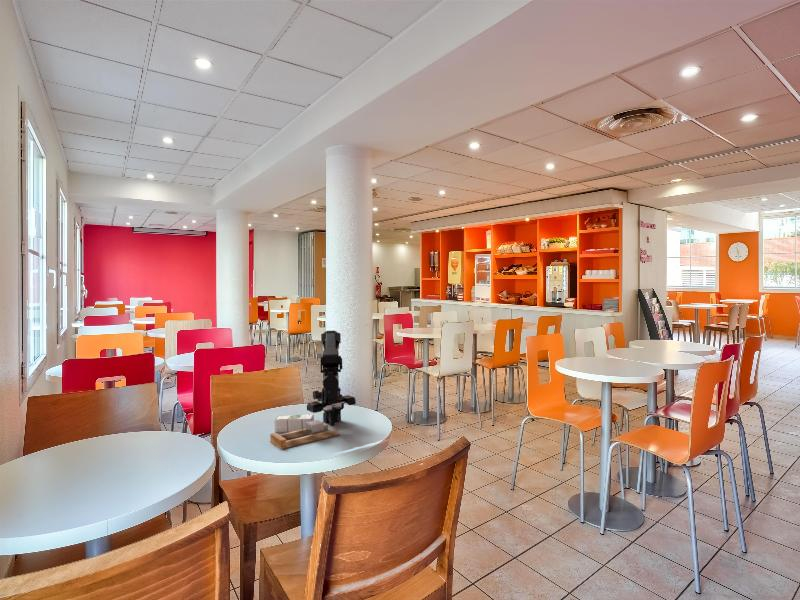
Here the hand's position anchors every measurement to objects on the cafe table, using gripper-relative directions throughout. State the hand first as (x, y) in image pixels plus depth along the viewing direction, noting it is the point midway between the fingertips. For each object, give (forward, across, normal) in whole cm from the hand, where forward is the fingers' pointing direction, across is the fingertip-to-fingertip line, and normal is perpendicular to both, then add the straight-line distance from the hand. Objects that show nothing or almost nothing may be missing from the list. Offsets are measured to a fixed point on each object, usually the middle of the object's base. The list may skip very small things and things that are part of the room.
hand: (332, 425), depth 176 cm
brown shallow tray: (+3, +12, 0) cm, 12 cm away
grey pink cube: (+2, +8, 0) cm, 8 cm away
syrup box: (0, +16, -17) cm, 23 cm away
